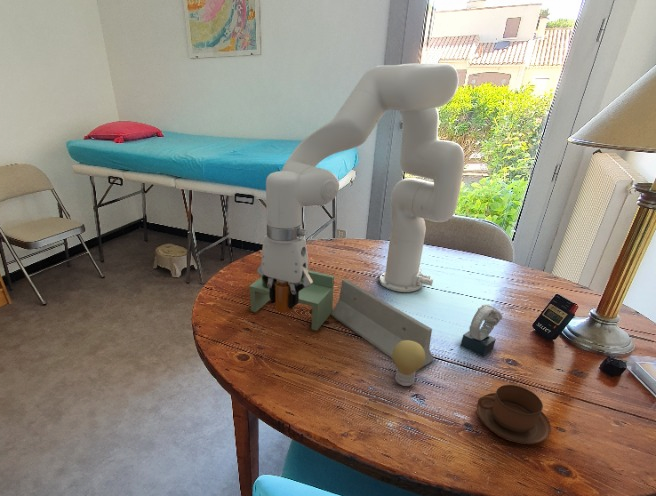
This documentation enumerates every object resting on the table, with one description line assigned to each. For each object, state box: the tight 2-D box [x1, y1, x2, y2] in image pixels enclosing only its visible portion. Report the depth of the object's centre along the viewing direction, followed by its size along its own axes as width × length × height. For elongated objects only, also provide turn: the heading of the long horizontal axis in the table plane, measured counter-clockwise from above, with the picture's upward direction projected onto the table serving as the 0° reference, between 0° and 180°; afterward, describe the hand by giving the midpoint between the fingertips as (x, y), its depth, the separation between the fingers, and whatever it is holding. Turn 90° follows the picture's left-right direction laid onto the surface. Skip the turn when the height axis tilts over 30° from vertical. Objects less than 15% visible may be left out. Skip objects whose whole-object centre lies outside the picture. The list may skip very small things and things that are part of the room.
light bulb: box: [392, 340, 425, 387], centre depth 83 cm, size 6×6×10 cm
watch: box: [460, 304, 503, 358], centre depth 93 cm, size 6×8×11 cm
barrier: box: [330, 278, 435, 368], centre depth 98 cm, size 28×7×10 cm, turn 32°
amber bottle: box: [274, 279, 293, 314], centre depth 94 cm, size 4×4×9 cm
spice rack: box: [249, 269, 335, 331], centre depth 108 cm, size 20×10×11 cm, turn 60°
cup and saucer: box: [476, 384, 552, 445], centre depth 74 cm, size 12×12×6 cm
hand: (283, 302), depth 96 cm, fingers closed on amber bottle, 4 cm apart
